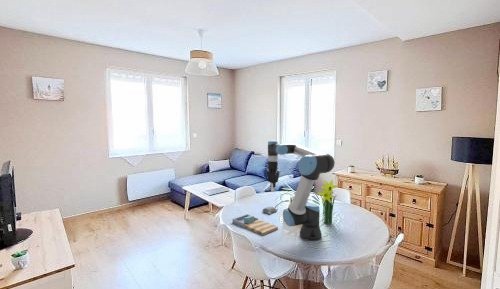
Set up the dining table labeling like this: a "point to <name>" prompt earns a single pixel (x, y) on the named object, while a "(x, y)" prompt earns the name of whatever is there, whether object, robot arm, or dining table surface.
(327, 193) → the daffodil flowers
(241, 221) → the tray
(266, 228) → the slatted wooden board
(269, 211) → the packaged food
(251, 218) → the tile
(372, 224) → the dining table surface
